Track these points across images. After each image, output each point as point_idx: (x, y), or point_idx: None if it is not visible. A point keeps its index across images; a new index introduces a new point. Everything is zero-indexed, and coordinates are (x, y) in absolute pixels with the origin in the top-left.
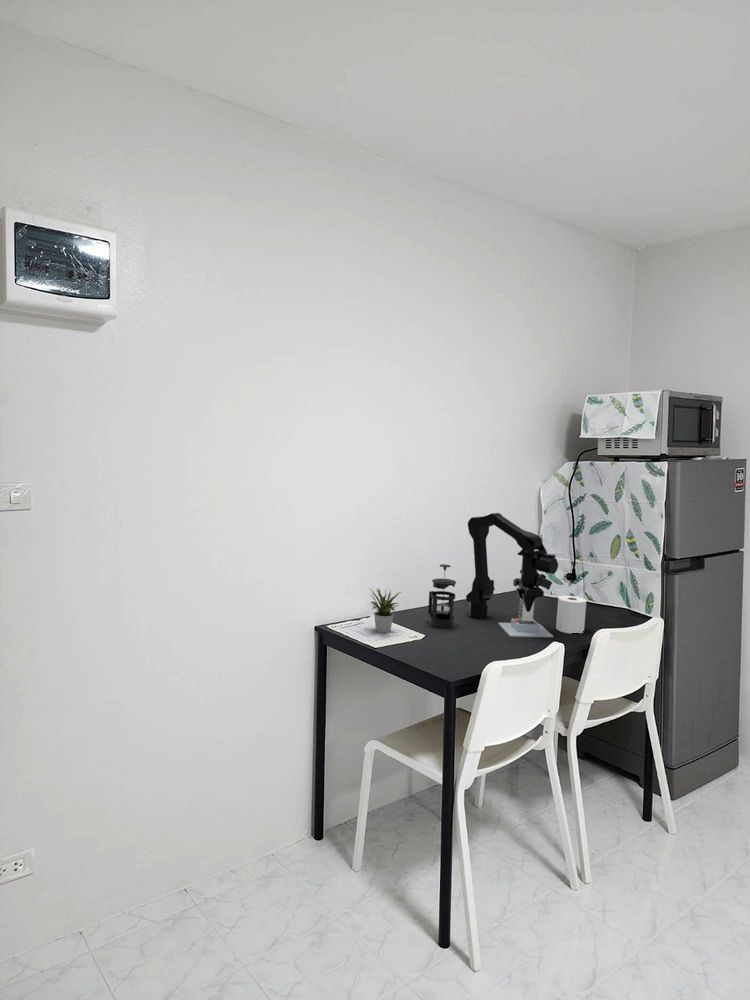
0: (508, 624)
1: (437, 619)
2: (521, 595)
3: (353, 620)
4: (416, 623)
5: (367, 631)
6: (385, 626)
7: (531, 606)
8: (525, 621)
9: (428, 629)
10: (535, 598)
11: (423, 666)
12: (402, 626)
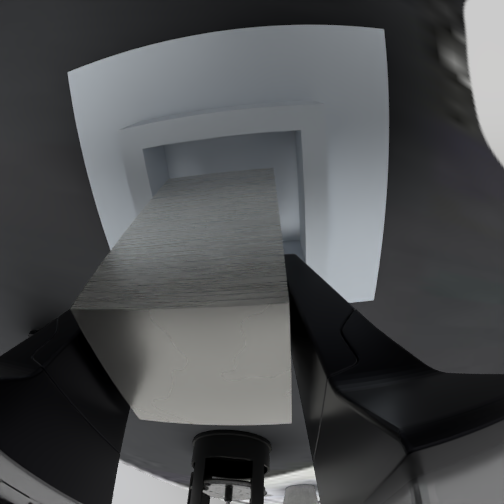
0: None
1: (264, 474)
2: (109, 437)
3: (238, 500)
4: None
5: None
6: (316, 497)
7: (330, 289)
8: (157, 191)
9: (282, 460)
10: (452, 376)
11: None
12: None
